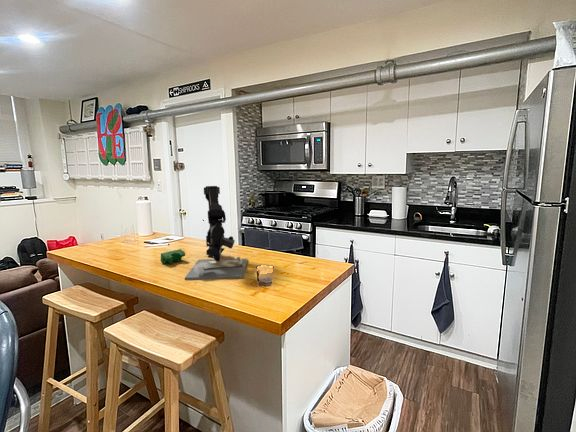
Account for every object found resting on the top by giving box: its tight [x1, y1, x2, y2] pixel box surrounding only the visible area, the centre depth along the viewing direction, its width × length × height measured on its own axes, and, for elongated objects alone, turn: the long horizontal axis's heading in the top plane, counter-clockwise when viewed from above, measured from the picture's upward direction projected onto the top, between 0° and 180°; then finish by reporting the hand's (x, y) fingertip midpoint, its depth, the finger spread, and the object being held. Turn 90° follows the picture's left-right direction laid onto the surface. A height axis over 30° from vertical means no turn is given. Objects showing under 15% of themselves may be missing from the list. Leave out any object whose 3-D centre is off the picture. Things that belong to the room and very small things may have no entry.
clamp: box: [160, 248, 186, 265], centre depth 167 cm, size 12×6×9 cm, turn 133°
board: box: [184, 258, 248, 281], centre depth 155 cm, size 28×26×1 cm
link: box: [201, 256, 243, 268], centre depth 155 cm, size 20×4×4 cm, turn 101°
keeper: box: [193, 261, 214, 277], centre depth 146 cm, size 8×7×5 cm
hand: (218, 263), depth 158 cm, fingers closed
